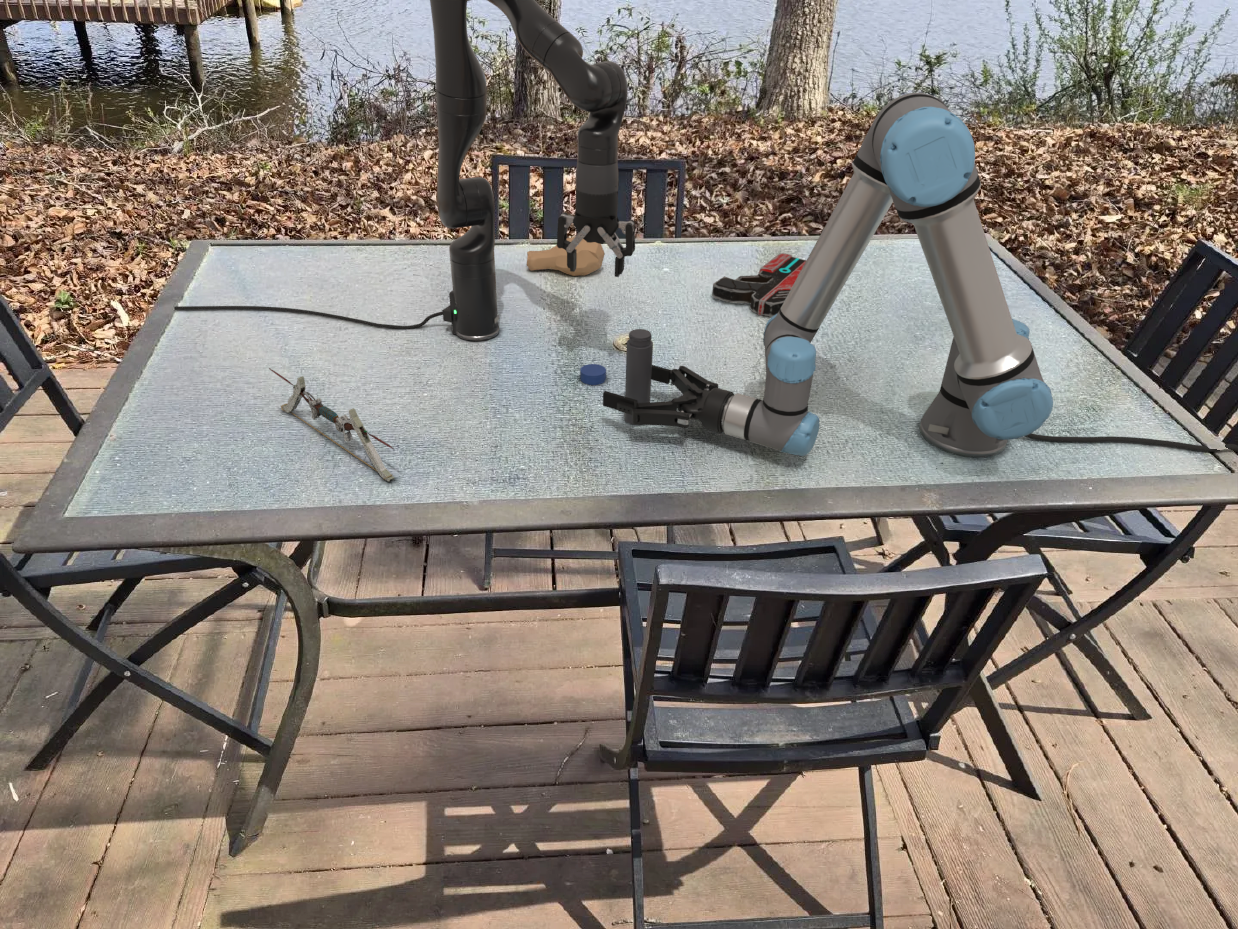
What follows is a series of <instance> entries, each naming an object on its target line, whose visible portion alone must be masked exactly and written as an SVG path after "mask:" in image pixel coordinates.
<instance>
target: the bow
mask: <svg viewBox="0 0 1238 929" xmlns="http://www.w3.org/2000/svg"><path fill="white" fill-rule="evenodd" d="M269 370H270V371H271V372H272V373H274V374H275V375H277V376H278V377H279V378H281V379H282V380H283V381H285V382H286V383H288V384H289V385H291V386H292V389H293V391H292V395H291V396H290V397H289V398H288V400H287V403H284V404H282V405H280V409H281V410H282V411H283V412H285V413H288V414H289V413H290V414H292V415H293V416H295V417H296V418H297V419H299V420H300V421H302V422H303V423H305V425H308V426H309V427H310V428H312V429H314V430H315V431H316V432H318V433H319V434H321V435H323V436H324V437H325V438H327V439H328V440H330V441H331V442H333V443H334V444H336V445H337V446H339V447H340V448H342V449H343V450H344V451H346V452H347V453H349V454H350V455H352V456H353V457H355V458H356V459H358V460H359V461H360V462H362V463H363V464H365V465H366V466H368V467H369V468H371V469H372V470H374V471H375V472H377V473H378V474H379V476H380V477H381V478H382V480H384V481H386V482H388V483H389V482H391V480H396V479H395V478H396V477H395V476H393V474H392V473H391V472H390V471H389V470H388V469H387V468H386V466H385V465H384V462H383V461H382V458H381V457H380V454H379V452H378V451H377V450H376V448H375V446H374V444H373V443H372V440H371V438H370V437H372V438H373V439H375V440H376V441H378V442H379V443H381V444H383V445H384V446H387V447H388V448H390V449H392V450H394V449H395V447H393V446H392V445H390V444H389V443H387V442H385V441H384V440H382V439H381V438H380V437H378V436H376V435H373V434H372V433H370V432H368V430H367V429H366V427H365V426H364V424H363V422H362V420H361V419H360V417H359V415H358V412H357V411H356V408H354V407H353V408H350V409H348V415H349V416H348V415H347V414H343V415H341V416H339V415H338V413H337V412H336V411H334V410H333V409H331V408H330V407H327V406H326V405H324V404H323V401H322V398H321V397H317V398H315V397H314V396H313V394H311V393H310V392H309V391H306V387H307V385H306V380H305V377H304V375H302V376H300V377H299V376H298V377H297V380H296V383H295V384H293V383H292V382H291V381H290V380H289V379H287V378H286V377H284V376H283V375H282V374H280V373H278V372H277V371H275V370H274V369H272V368H270V367H269ZM302 398H303V399H304V401H305V402H306V403H307V404H308V407H309V408H310V415H311V417H310V418H311V419H312V420H313V421H314V420H317V419H320V416H322V417H323V418H325V419H326V420H327V421H329V422H330V423H332V424H334V427H335V429H336V431H337V432H339V433H342V434H343V436H342V437H343V438H344V441H345V442H346V443H348V442H350V441H353V440H354V438H353V435H352V434H353V433H351V431H354V432H355V434H356V435H357V437H358V438H359V441H360V443H361V444H362V447H363V448H364V451H365V453H366V454H367V456H368V457H369V459H370V461H371V463H372V465H373V466H372V465H370V464H368V462H366V461H364V460H363V459H361V458H360V457H358V456H357V455H356V454H354V453H352V452H351V451H349V450H348V449H347V448H345V447H344V446H342V445H341V444H339V443H338V442H336V441H335V440H333V439H332V438H331V437H329V436H328V435H326V434H325V433H323V432H322V431H320V430H319V429H317V428H316V427H315V426H312V424H310V423H308V422H307V421H305V420H304V419H303V418H302V417H299V415H297V414H295V413H294V411H295V410H296V409H297V408H298V406H299V404H300V403H301V400H302Z"/></svg>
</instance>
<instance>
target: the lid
mask: <svg viewBox="0 0 1238 929" xmlns="http://www.w3.org/2000/svg"><path fill="white" fill-rule="evenodd" d="M579 380H580V381H581V382H582V383H583V384H585V385H589V386H598V385H601V384H603V383H605V382H606V380H607V368H606V367H605V366H603V365H602V364H597V363H588V364H585V365H583V366H581V367H580V369H579Z"/></svg>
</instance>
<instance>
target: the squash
mask: <svg viewBox="0 0 1238 929" xmlns="http://www.w3.org/2000/svg"><path fill="white" fill-rule="evenodd" d="M575 237H576V235H575V236H572V237H567V241H569V242H571V241H572V240H573V239H574V238H575ZM575 249H577V267H576V270H575V271H574V272H572V271H570V268H568V267H567V252H566V250H565V249H563V248H558V247H557V244H556V245H555V246H553V247H551V248H549V249H543V250H529V251H527V252H526V257H527V258H526V267H527V268H528V270H529V271H530V272H531V271H539V270H554V271H555V270H556V271H559V272H561V273H564V274H567V275H569V276H572V277H577V276H578V277H579V276H580V277H581V276H587V275H589V274H591V273H594V272H596V271H597V270H599V269H601V267H602V266H603V262H604V259H605V254H606V253H605V250H604V248H603V244H599V243H596V242H592V243H589V242H586V241H585V240H584V239H582V241H581V242H580V243H579V244H578V245H577V246H576V248H575Z"/></svg>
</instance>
